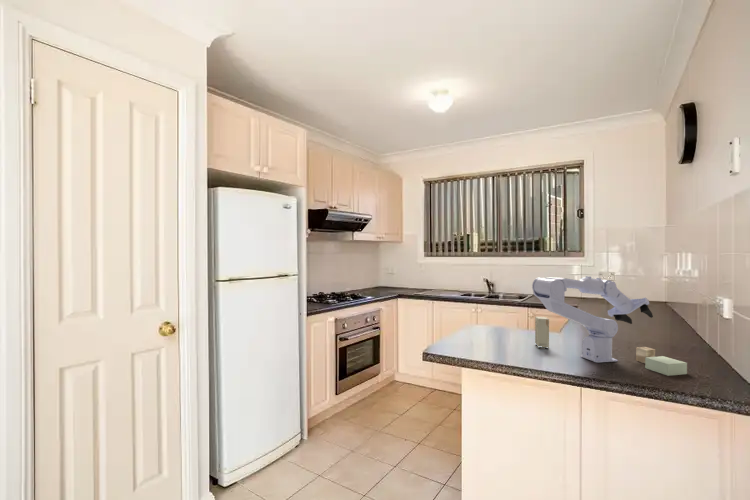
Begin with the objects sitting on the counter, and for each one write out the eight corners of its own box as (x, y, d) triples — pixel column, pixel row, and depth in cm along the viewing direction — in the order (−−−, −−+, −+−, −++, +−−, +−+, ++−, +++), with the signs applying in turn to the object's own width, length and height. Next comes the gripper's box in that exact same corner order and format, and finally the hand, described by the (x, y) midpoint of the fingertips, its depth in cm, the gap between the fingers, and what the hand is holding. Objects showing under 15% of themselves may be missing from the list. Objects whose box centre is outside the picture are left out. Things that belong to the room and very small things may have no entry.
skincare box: (549, 349, 156) (549, 319, 156) (537, 348, 157) (538, 318, 157) (545, 345, 163) (546, 316, 162) (534, 344, 163) (535, 316, 163)
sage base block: (667, 376, 125) (668, 364, 125) (645, 368, 133) (645, 357, 133) (686, 374, 127) (687, 362, 127) (663, 367, 135) (663, 356, 135)
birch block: (646, 363, 138) (646, 350, 138) (636, 360, 142) (636, 347, 142) (654, 363, 139) (655, 349, 139) (644, 360, 143) (645, 346, 143)
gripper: (636, 284, 143) (658, 303, 146) (599, 298, 153) (621, 316, 156) (639, 299, 138) (662, 318, 141) (601, 313, 148) (623, 330, 152)
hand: (641, 318), depth 148 cm, fingers open, 7 cm apart
